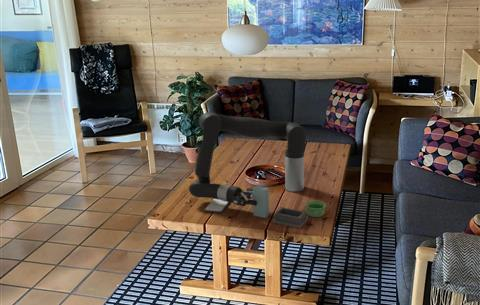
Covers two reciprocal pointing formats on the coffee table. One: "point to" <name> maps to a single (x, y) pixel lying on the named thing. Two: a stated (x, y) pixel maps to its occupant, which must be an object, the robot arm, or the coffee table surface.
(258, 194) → the tall teal prism
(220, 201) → the phone case
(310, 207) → the ramekin
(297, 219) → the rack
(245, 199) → the robot arm
